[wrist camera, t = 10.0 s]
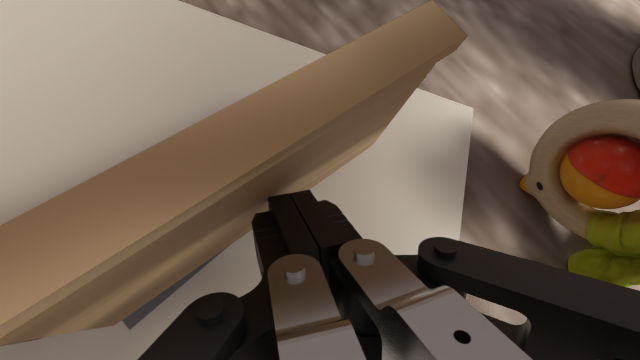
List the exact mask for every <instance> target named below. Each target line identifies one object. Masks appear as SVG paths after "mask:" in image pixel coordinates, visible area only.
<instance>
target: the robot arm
mask: <svg viewBox="0 0 640 360" xmlns="http://www.w3.org/2000/svg"><path fill="white" fill-rule="evenodd" d="M632 67H633V75H634V78H635V81H636V84H637V86H638V88H639V90H640V48H638V49H637V51H636V52H635V54H634V56H633V63H632ZM268 209H269V211H265V212H260V213H256V214H255V216H254V218H253V220H252V222H251V223H252V230H253V236H254V243H255V249H256V255H257V261H258V265H259V269H260V273H261V277H262V279H261V281H260V283H259V284H258V285H257V286H256V287H255V288H254V289H253V290H251V291H250V292H248V293H247V294H245V295H243V296H241V297H239V298H238V297H237V296H236V295H234V294H231V293H227V292H216V293H211V294H207V295H204V296H202V297H200V298H198V299H196V300H195V301H193V302H192V303H191V304H189V305H188V306H187V307H186V308H185V309H184V310H183V311H182V313H181V314H180V315H179V316H178V317H177V318H176V319H175V320H174V321H173V322H172V323H171V324H170V325H169V326H168V327H167V329H166V330H165V331H164V332H163V333H162V334H161V335H160V336H159V337H158V338H157V339H156V340H155V341H154V342H153V344H152V345H151V346H150V347H149V348H148V349H147V350H146V351H145V352H144V353H143V354H142V355H141V356H140V357H139V358H138V360H640V291H638V290H634V289H631V288H627V287H624V286H620V285H616V284H613V283H609V282H606V281H602V280H598V279H595V278H591V277H588V276H584V275H580V274H577V273H573V272H570V271H566V270H562V269H559V268H555V267H552V266H548V265H544V264H541V263H537V262H534V261H530V260H526V259H523V258H519V257H516V256H512V255H508V254H505V253H501V252H498V251H494V250H490V249H487V248H483V247H480V246H476V245H472V244H469V243H465V242H462V241H458V240H454V239H451V238H446V237H431V238H427V239H425V240H423V241H422V242H421V243H420V244H419V246H418V255H394V254H393V253H392V252H391V251H390V250H389V249H388V248H387V247H386V246H384V245H383V244H381V243H380V242H377V241H374V240H370V239H363V238H362V237H361V236H360V234H359V233H358V232H357V230H356V229H355V228H354V227H353V225H352V224H351V223H350V222H349V220H347V218H346V217H345V215H344V214H342V212H341V210H340V209H339V208H338V206H337V205H335V204H333V203H331V202H329V201H327V200H322V201H317V199H316V198H315V197H314V195H313V194H312V192H311V191H310V190H303V191H298V192H292V193H289V194H288V193H287V194H281V195H276V196H270V197H268ZM466 293H467V294H470V295H473V296H476V297H479V298H482V299H484V300H487V301H490V302H493V303H496V304H499V305H501V306H504V307H507V308H510V309H513V310H516V311H518V312H520V313H522V314H523V315H525V316H526V317H527V321H526V322H525V323H524V324H522V325H512V324H509V323H506V322H503V321H501V320H498V319H495V318H493V317H490V316H487V315H485V314H482V313H480V312H479V311H478V310H476V309H475V308H474V307H473V306H472V305H471V304H470V303H469V302H468V301H466V300H465V299H466Z"/></svg>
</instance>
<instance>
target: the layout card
mask: <svg viewBox="0 0 640 360" xmlns="http://www.w3.org/2000/svg"><path fill="white" fill-rule="evenodd" d="M325 55H326V54H324V53H321V52H318V51H315V50H313V49H310V48H307V47H304V46H302V45H299V44H296V43H294V42H291V41H288V40H285V39H283V38H280V37H277V36H274V35H272V34H269V33H266V32H264V31H261V30H258V29H255V28H253V27H250V26H247V25H244V24H242V23H239V22H236V21H234V20H231V19H228V18H225V17H223V16H220V15H217V14H214V13H212V12H209V11H206V10H204V9H201V8H198V7H195V6H193V5H190V4H187V3H184V2H182V1H179V0H0V225H2V224H4V223H6V222H8V221H10V220H12V219H14V218H16V217H17V216H19V215H21V214H23V213H25V212H27V211H29V210H31V209H33V208H35V207H37V206H38V205H40V204H42V203H44V202H46V201H48V200H50V199H52V198H54V197H56V196H58V195H60V194H61V193H63V192H65V191H67V190H69V189H71V188H73V187H75V186H77V185H79V184H81V183H82V182H84V181H86V180H88V179H90V178H92V177H94V176H96V175H98V174H100V173H102V172H103V171H105V170H107V169H109V168H111V167H113V166H115V165H117V164H119V163H121V162H123V161H125V160H126V159H128V158H130V157H132V156H134V155H136V154H138V153H140V152H142V151H144V150H146V149H147V148H149V147H151V146H153V145H155V144H157V143H159V142H161V141H163V140H165V139H167V138H168V137H170V136H172V135H174V134H176V133H178V132H180V131H182V130H184V129H186V128H188V127H189V126H191V125H193V124H195V123H197V122H199V121H201V120H203V119H205V118H207V117H209V116H211V115H212V114H214V113H216V112H218V111H220V110H222V109H224V108H226V107H228V106H230V105H232V104H233V103H235V102H237V101H239V100H241V99H243V98H245V97H247V96H249V95H251V94H253V93H254V92H256V91H258V90H260V89H262V88H264V87H266V86H268V85H270V84H272V83H274V82H276V81H277V80H279V79H281V78H283V77H285V76H287V75H289V74H291V73H293V72H295V71H297V70H298V69H300V68H302V67H304V66H306V65H308V64H310V63H312V62H314V61H316V60H318V59H319V58H321V57H323V56H325ZM472 119H473V108H471V107H468V106H465V105H463V104H460V103H457V102H454V101H452V100H449V99H446V98H443V97H441V96H438V95H435V94H433V93H430V92H427V91H424V90H422V89H419V88H416V90H415V91H414V92H413V94H412V95H411V96H410V97H409V99H408V100H407V101H406V103H405V104H404V105H403V107H402V108H401V109H400V110H399V112H398V113H397V114H396V116H395V117H394V118H393V120H392V121H391V122H390V123H389V125H388V126H387V127H386V129H385V130H384V131H383V133H382V134H381V135H380V136H379V138H378V139H377V140H376V142H375V143H374V144H373V146H371V147H370V148H368V149H367V150H365V151H364V152H363V153H361V154H360V155H358V156H357V157H355V158H354V159H352V160H351V161H350V162H348V163H347V164H345V165H344V166H342V167H341V168H340V169H338V170H337V171H335V172H334V173H332V174H331V175H330V176H328V177H327V178H325V179H324V180H322V181H321V182H319V183H318V184H317V185H315V186H314V187H312V188H311V189H309V190H310V191H311V192H312V194H313V195H314V197H315V198H316V199H317V201H322V200H327V201H329V202H331V203H333V204H335V205H337V206H338V208H339V209H340V210H341V212H342V214H344V215H345V217H346V218H347V220H349V222H350V223H351V224H352V225H353V227H354V228H355V229H356V230H357V232H358V233H359V234H360V236H361V237H362V238H363V239H370V240H374V241H377V242H380V243H381V244H383V245H384V246H386V247H387V248H388V249H389V250H390V251H391V252H392V253H393V254H394V255H418V246H419V244H420V243H421V242H422V241H423V240H425V239H427V238H431V237H446V238H451V239H454V240H458V241H459V238H460V229H461V220H462V211H463V202H464V192H465V183H466V174H467V165H468V155H469V146H470V137H471V128H472ZM261 279H262V277H261V273H260V269H259V265H258V261H257V255H256V249H255V243H254V236H253V230H251V231H249V232H248V233H246V234H245V235H244V236H242V237H241V238H239V239H238V240H236V241H235V242H233V243H232V244H231V245H229V246H228V247H226V248H225V249H223V250H222V251H221V252H219V253H218V254H216V255H215V256H213V257H212V258H211V259H209V260H208V261H206V262H205V263H203V264H202V265H200V266H199V267H198V268H196V269H195V270H193V271H192V272H190V273H189V274H188V275H186V276H185V277H183V278H182V279H180V280H179V281H178V282H176V283H175V284H173V285H172V286H170V287H169V288H168V289H166V290H165V291H163V292H162V293H160V294H159V295H157V296H156V297H155V298H153V299H152V300H150V301H149V302H147V303H146V304H145V305H143V306H142V307H140V308H139V309H137V310H136V311H135V312H133V313H132V314H130V315H129V316H127V317H126V318H125V319H123V320H122V321H120V322H119V323H117V324H116V325H114V326H108V327H102V328H97V329H91V330H85V331H79V332H73V333H67V334H61V335H55V336H50V337H44V338H41V339H38V340H33V341H27V342H22V343H16V344H10V345H5V346H0V360H138V358H139V357H140V356H141V355H142V354H143V353H144V352H145V351H146V350H147V349H148V348H149V347H150V346H151V345H152V344H153V342H154V341H155V340H156V339H157V338H158V337H159V336H160V335H161V334H162V333H163V332H164V331H165V330H166V329H167V327H168V326H169V325H170V324H171V323H172V322H173V321H174V320H175V319H176V318H177V317H178V316H179V315H180V314H181V313H182V311H183V310H184V309H185V308H186V307H187V306H188V305H189V304H191V303H192V302H193V301H195V300H196V299H198V298H200V297H202V296H204V295H207V294H211V293H216V292H227V293H231V294H234V295H236V296H237V297H238V298H239V297H241V296H243V295H245V294H247V293H248V292H250V291H251V290H253V289H254V288H255V287H256V286H257V285H258V284H259V283H260V281H261Z"/></svg>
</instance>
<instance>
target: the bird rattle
mask: <svg viewBox="0 0 640 360" xmlns="http://www.w3.org/2000/svg"><path fill="white" fill-rule="evenodd" d="M519 186H520V188H521V189H523V190H524V191H525V192H527V193H529V194H531V195H533V196H534V197H535V198H536V199H537V200H538V201H539V203H540V204H541V205H542V207H543V208H544V209H545V210H546V211H547V212H548V213H549V214H550V215H551V216H552V217H553V218H554V219H555V220H556V221H557V222H559V223H560V224H561V225H563V226H564V227H565V228H567V229H568V230H570V231H572V232H573V233H575V234H576V235H578V236H580V237H582V238H584V239H586V240H588V241H589V242H590V244H592V245H593V246H596V248H588V249H584V250H580V251H578V252H575V253H573V254H572V255H571V256H570V257H569V259H568V271H570V272H573V273H577V274H580V275H584V276H588V277H591V278H595V279H598V280H602V281H606V282H609V283H613V284H616V285H620V286H624V287H627V288H628V287H629V286H630V285H640V210H635V211H632V212H622V213H620V214H618V213H615V212H610V211H603V210H597V209H595V208H599V209H616V208H621V207H625V206H628V205H631V204H633V203H635V202H637V201H638V200H640V100H638V99H615V100H607V101H602V102H597V103H593V104H589V105H586V106H584V107H581V108H579V109H576V110H574V111H572V112H570V113H568V114H566V115H564V116H563V117H561V118H560V119H558V120H557V121H556V122H555V123H553V124H552V125H551V126H550V127H549V128H548V129H547V130H546V131H545V132H544V134H543V135H542V136H541V138H540V139H539V141H538V142H537V144H536V146H535V148H534V150H533V152H532V155H531V159H530V168H529V172H528V174H526V175H525V176H524V177H523V178H522V180H521V181H520V184H519ZM593 207H594V208H593Z"/></svg>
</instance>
